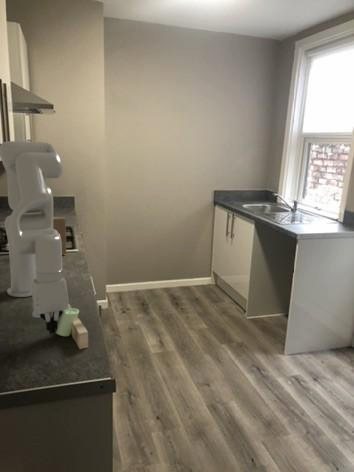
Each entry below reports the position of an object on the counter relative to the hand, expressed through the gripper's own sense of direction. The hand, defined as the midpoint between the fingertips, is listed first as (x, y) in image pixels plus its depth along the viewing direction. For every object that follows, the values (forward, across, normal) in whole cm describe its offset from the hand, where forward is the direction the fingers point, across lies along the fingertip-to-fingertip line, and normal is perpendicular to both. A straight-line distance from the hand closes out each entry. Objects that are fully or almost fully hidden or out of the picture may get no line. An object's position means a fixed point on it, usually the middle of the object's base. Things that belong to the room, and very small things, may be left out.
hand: (51, 331), depth 118 cm
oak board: (+2, -7, -1) cm, 7 cm away
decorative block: (+1, -20, -88) cm, 90 cm away
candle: (+1, -3, 0) cm, 3 cm away
